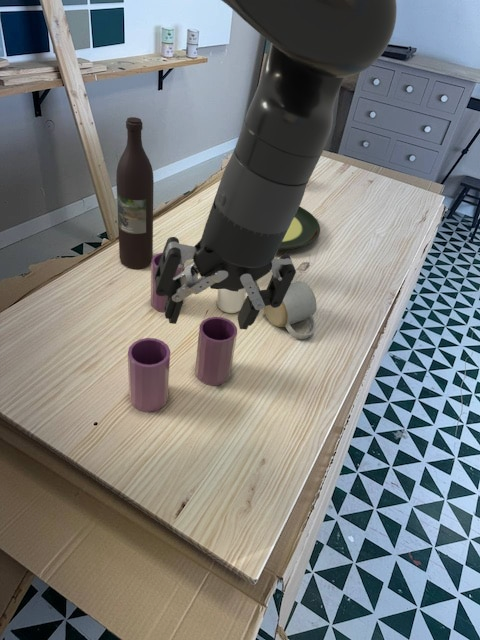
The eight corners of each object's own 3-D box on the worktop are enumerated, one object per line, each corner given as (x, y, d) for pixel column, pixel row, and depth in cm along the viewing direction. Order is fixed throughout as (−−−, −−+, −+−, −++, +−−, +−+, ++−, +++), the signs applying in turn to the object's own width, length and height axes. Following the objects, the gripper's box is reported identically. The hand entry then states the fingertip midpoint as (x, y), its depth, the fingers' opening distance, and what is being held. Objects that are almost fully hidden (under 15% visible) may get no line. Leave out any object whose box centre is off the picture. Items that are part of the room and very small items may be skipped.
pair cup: (134, 415, 71) (133, 370, 65) (125, 387, 75) (123, 342, 69) (172, 406, 73) (175, 362, 67) (161, 379, 77) (163, 334, 71)
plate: (195, 236, 113) (195, 227, 112) (233, 193, 134) (234, 185, 133) (305, 269, 109) (308, 260, 107) (327, 219, 130) (329, 211, 128)
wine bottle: (113, 258, 102) (105, 115, 83) (139, 248, 106) (138, 111, 87) (132, 273, 99) (129, 128, 79) (159, 262, 103) (162, 123, 84)
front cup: (202, 389, 77) (207, 345, 70) (190, 363, 81) (194, 320, 74) (235, 381, 79) (243, 338, 73) (222, 357, 83) (228, 314, 77)
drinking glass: (249, 301, 97) (261, 238, 87) (241, 320, 92) (252, 255, 82) (218, 292, 97) (226, 229, 88) (208, 311, 92) (215, 246, 83)
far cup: (155, 315, 89) (156, 272, 83) (147, 296, 93) (147, 254, 87) (185, 310, 92) (188, 268, 85) (176, 292, 96) (178, 250, 89)
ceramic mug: (257, 314, 94) (264, 284, 89) (288, 302, 98) (296, 273, 93) (292, 347, 88) (301, 316, 83) (322, 333, 92) (333, 303, 87)
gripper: (310, 196, 48) (256, 304, 59) (176, 169, 43) (144, 292, 54) (332, 242, 44) (269, 350, 55) (185, 217, 38) (148, 341, 49)
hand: (207, 321), depth 54 cm, fingers open, 8 cm apart
